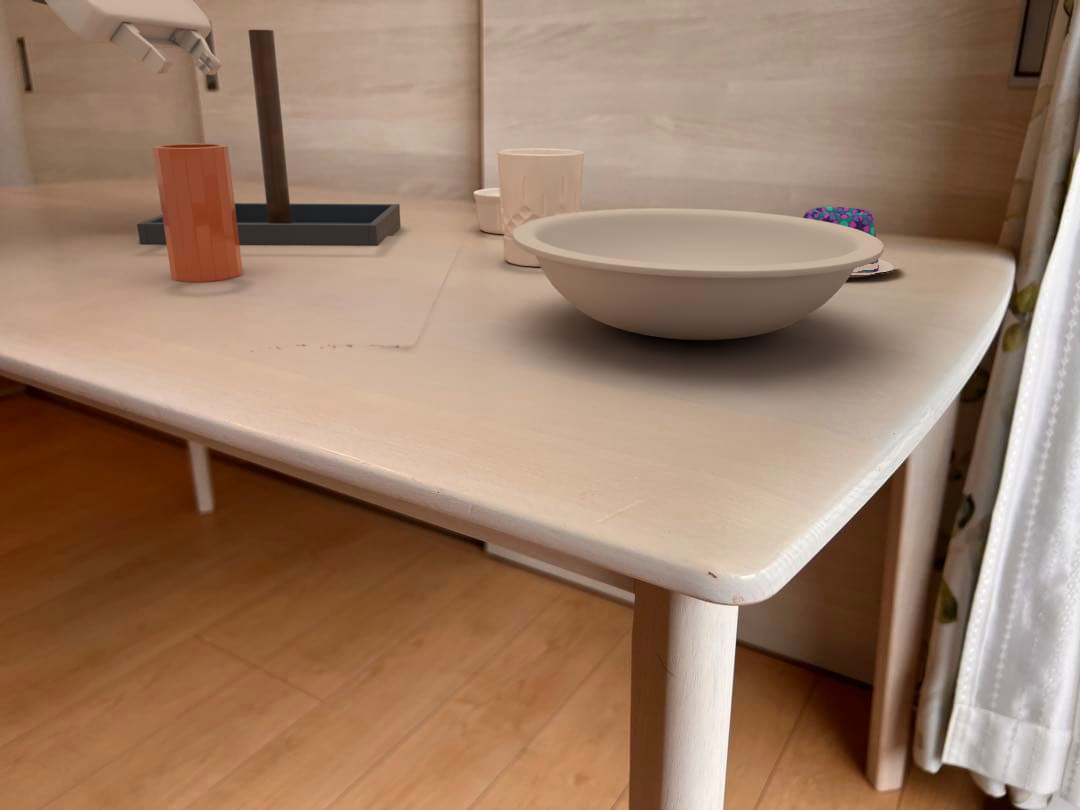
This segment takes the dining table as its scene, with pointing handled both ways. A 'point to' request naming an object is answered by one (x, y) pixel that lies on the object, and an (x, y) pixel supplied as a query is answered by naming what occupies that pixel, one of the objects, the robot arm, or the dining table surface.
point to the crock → (198, 211)
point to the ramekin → (489, 210)
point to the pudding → (853, 220)
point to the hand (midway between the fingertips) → (191, 70)
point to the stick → (270, 125)
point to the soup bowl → (695, 267)
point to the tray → (302, 225)
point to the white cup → (536, 191)
